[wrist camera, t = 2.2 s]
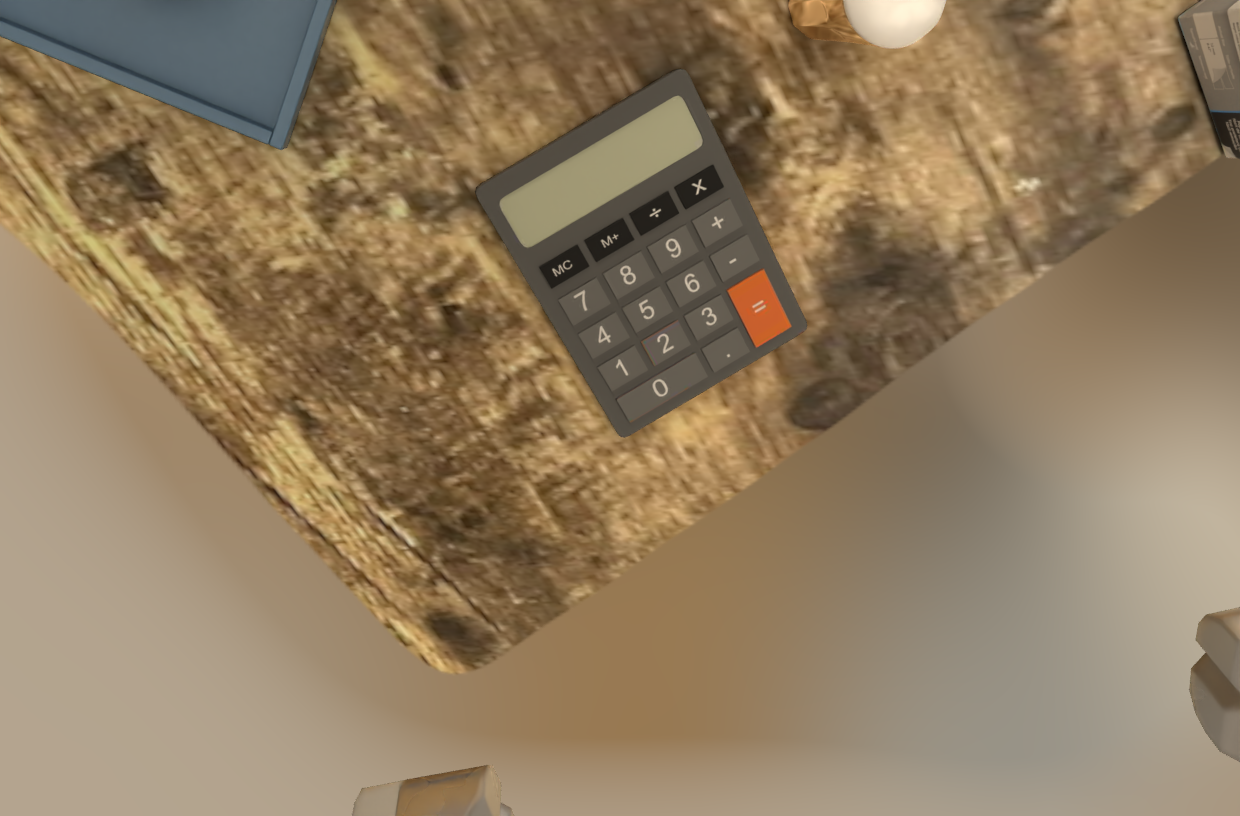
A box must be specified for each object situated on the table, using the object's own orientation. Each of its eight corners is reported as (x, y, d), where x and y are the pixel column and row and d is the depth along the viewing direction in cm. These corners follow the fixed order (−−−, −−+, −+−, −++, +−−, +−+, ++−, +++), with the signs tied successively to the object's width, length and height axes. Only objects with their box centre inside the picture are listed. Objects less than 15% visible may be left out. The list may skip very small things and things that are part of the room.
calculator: (622, 441, 51) (473, 190, 45) (618, 435, 52) (471, 188, 46) (811, 329, 51) (685, 65, 45) (804, 325, 52) (680, 66, 46)
